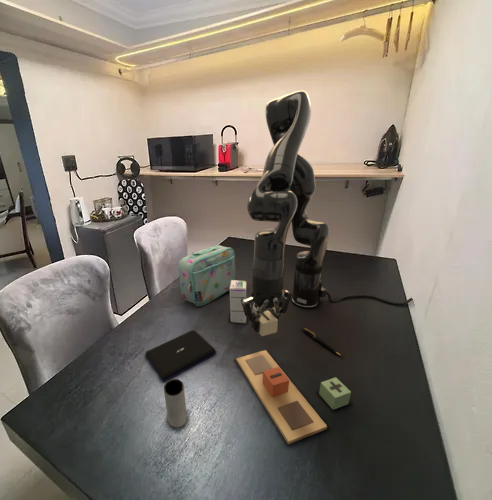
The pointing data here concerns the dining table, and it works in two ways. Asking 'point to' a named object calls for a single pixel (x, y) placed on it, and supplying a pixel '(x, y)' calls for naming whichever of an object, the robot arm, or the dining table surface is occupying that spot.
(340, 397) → the green plus block
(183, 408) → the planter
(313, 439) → the dining table surface
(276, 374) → the orange slotted cube
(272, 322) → the cream slotted cube
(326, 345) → the fountain pen
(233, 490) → the dining table surface
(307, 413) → the wood board
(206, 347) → the laptop
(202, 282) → the lunch box
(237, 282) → the syrup box
